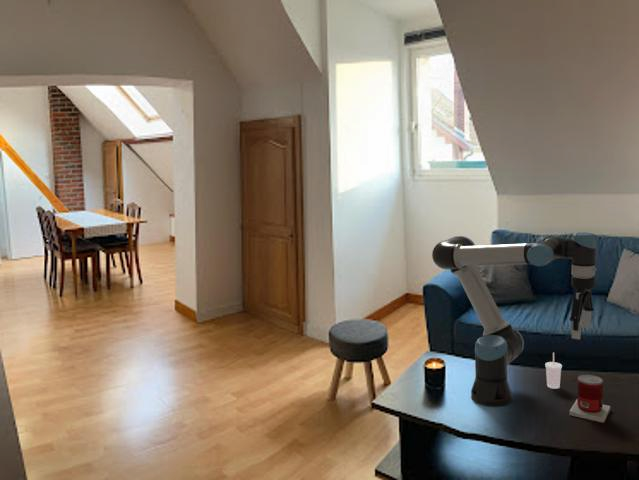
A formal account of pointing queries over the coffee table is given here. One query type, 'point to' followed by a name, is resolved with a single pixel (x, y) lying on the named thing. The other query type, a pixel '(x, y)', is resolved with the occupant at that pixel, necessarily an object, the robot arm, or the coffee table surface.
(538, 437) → the coffee table surface
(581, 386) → the canned food
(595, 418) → the tray
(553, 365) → the beverage cup
